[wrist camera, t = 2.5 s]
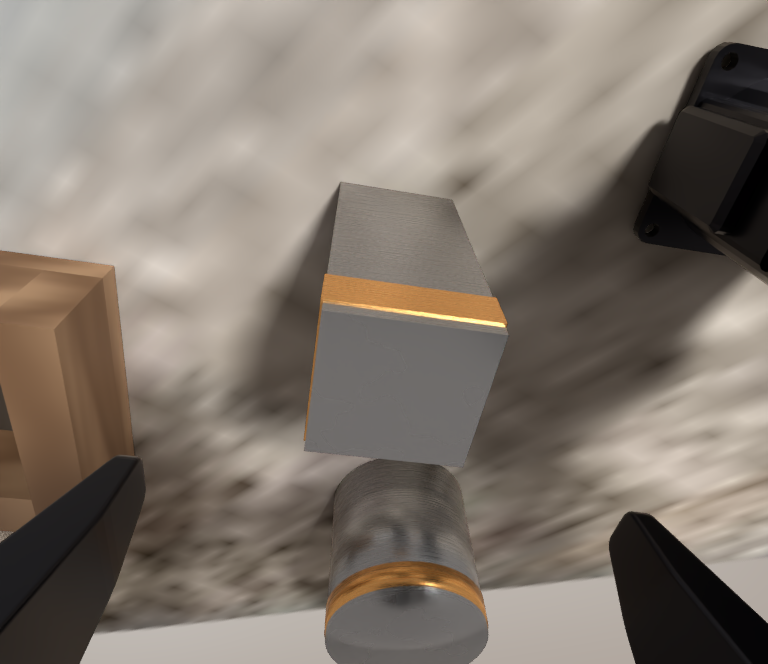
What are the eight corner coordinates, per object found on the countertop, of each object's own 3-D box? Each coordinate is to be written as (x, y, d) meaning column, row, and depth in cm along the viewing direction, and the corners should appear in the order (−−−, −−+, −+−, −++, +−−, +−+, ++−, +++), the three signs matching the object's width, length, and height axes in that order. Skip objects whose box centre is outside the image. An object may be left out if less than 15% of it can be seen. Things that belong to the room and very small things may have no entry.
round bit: (477, 462, 26) (510, 599, 20) (446, 548, 29) (466, 685, 24) (342, 448, 25) (334, 586, 19) (326, 537, 29) (315, 677, 23)
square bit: (453, 198, 19) (511, 333, 11) (429, 298, 21) (464, 468, 13) (339, 180, 18) (319, 307, 11) (326, 284, 21) (301, 452, 13)
